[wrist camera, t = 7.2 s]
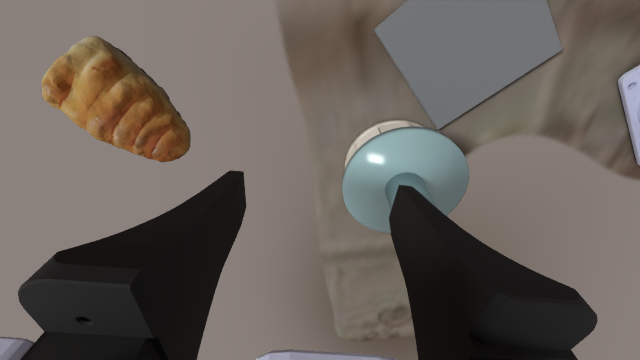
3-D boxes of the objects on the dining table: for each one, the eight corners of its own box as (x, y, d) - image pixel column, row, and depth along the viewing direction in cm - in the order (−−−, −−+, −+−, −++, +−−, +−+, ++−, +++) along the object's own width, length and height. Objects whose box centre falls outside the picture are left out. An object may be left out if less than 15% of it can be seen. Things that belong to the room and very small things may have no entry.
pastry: (214, 120, 22) (194, 140, 19) (172, 169, 25) (149, 193, 21) (98, 25, 18) (49, 30, 15) (64, 94, 21) (17, 110, 18)
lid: (483, 190, 21) (524, 240, 16) (382, 241, 24) (394, 294, 20) (429, 98, 17) (465, 131, 13) (318, 174, 20) (316, 221, 16)
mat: (557, 48, 18) (562, 49, 18) (436, 127, 22) (437, 129, 21) (511, -91, 15) (516, -94, 14) (373, 29, 18) (374, 30, 18)
